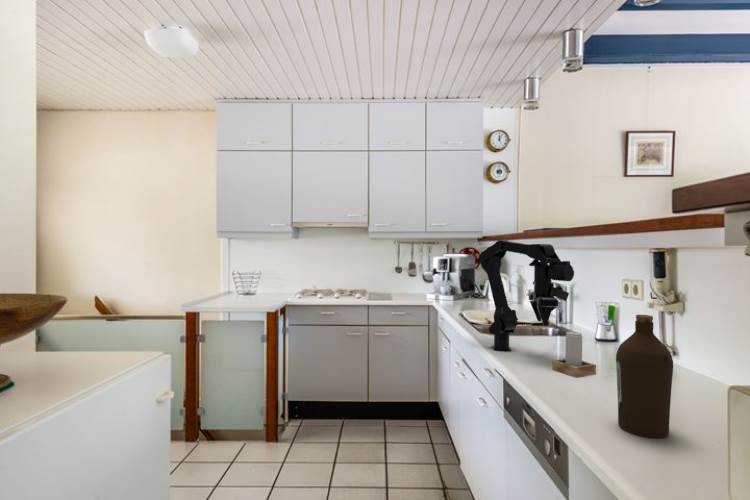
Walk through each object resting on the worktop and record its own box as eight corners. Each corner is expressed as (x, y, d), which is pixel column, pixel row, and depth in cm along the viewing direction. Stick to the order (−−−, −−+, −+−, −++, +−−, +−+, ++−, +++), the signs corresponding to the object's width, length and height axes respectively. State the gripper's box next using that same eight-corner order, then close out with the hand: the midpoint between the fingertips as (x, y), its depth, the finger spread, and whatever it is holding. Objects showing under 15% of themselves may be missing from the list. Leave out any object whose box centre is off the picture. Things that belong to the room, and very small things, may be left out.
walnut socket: (552, 369, 138) (552, 360, 138) (571, 366, 142) (571, 357, 142) (576, 377, 130) (576, 368, 130) (595, 373, 134) (596, 364, 134)
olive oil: (675, 428, 93) (676, 315, 93) (668, 445, 85) (670, 321, 85) (620, 415, 100) (622, 310, 100) (610, 429, 92) (611, 315, 92)
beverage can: (581, 369, 137) (582, 332, 137) (581, 373, 133) (582, 335, 132) (565, 367, 139) (565, 331, 139) (565, 371, 135) (565, 333, 135)
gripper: (575, 281, 139) (574, 329, 139) (559, 278, 157) (559, 319, 157) (539, 281, 141) (538, 327, 141) (528, 277, 159) (528, 318, 159)
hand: (542, 323), depth 149 cm, fingers open, 9 cm apart
